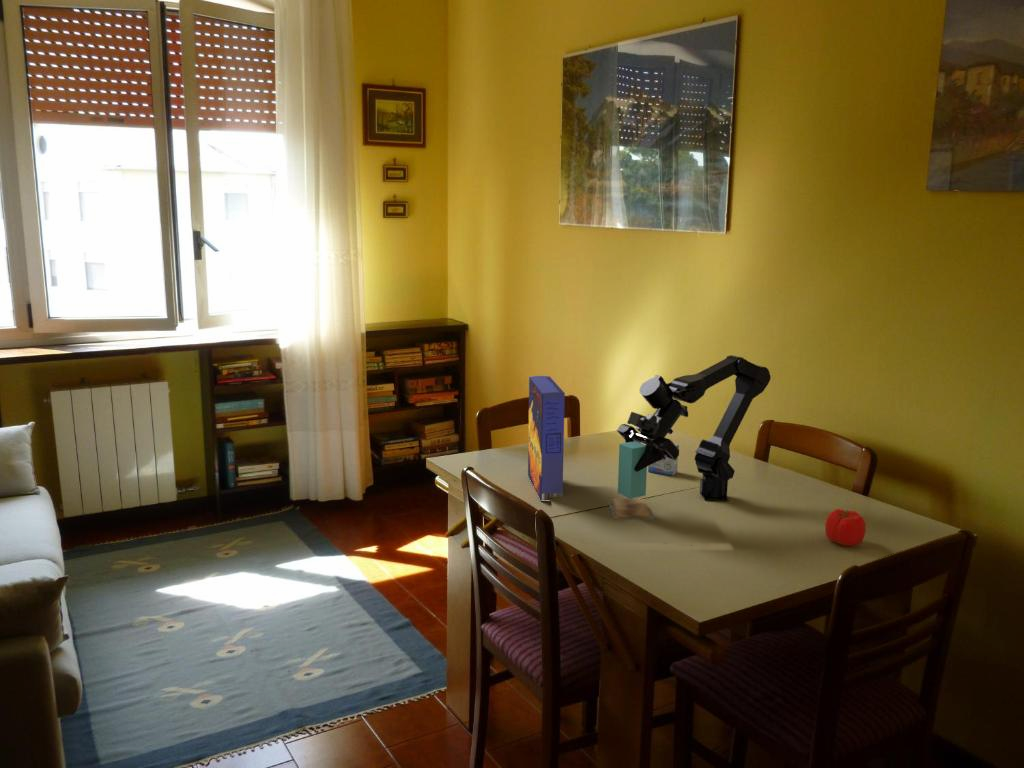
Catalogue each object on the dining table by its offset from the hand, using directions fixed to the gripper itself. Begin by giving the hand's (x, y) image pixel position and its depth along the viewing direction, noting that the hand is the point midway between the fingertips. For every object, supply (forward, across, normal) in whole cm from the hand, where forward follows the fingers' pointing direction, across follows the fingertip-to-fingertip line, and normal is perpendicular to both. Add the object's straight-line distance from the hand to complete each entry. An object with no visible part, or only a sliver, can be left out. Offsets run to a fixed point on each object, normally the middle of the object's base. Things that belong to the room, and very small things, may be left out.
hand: (628, 467), depth 213 cm
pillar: (+4, 0, +6) cm, 7 cm away
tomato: (-14, +39, +34) cm, 54 cm away
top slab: (+8, 0, +9) cm, 12 cm away
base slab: (+9, 0, +11) cm, 14 cm away
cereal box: (+13, -30, +6) cm, 33 cm away
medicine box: (-14, -24, +33) cm, 43 cm away
